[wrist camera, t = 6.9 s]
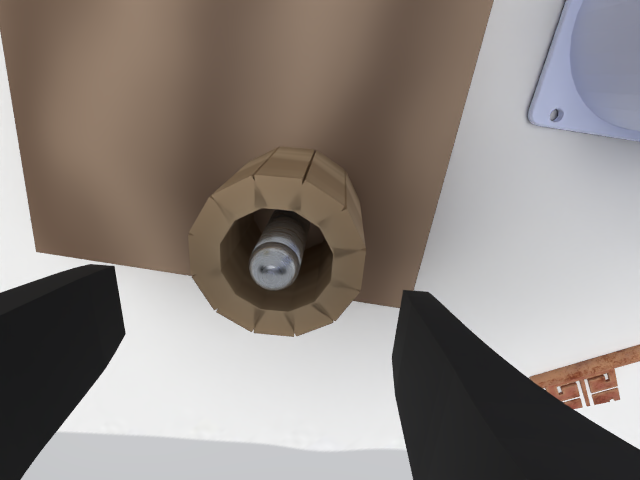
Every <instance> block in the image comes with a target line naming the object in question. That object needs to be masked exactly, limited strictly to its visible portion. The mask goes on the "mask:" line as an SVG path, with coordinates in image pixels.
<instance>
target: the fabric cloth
mask: <svg viewBox="0 0 640 480" xmlns="http://www.w3.org/2000/svg"><path fill="white" fill-rule="evenodd" d="M493 1H494V0H0V32H1V38H2V44H3V50H4V56H5V62H6V69H7V75H8V81H9V87H10V93H11V99H12V106H13V112H14V118H15V124H16V130H17V136H18V142H19V149H20V155H21V161H22V167H23V173H24V179H25V186H26V192H27V198H28V204H29V210H30V216H31V223H32V229H33V235H34V241H35V247H36V252H40V253H47V254H53V255H60V256H66V257H73V258H79V259H86V260H92V261H99V262H105V263H111V264H118V265H124V266H131V267H137V268H144V269H150V270H157V271H163V272H170V273H176V274H183V275H189V276H193V275H192V274H191V271H190V256H189V241H188V235H189V234H190V233H189V231H190V229H191V228H192V226H193V224H194V222H195V221H196V219H197V217H198V215H199V214H200V212H201V210H202V209H203V207H204V205H205V203H206V202H207V200H208V198H209V197H210V196H211V195H212V194H213V193H214V192H215V191H216V190H218V189H219V188H220V187H221V186H222V185H223V184H224V183H225V182H227V181H228V180H229V179H230V178H231V177H232V176H233V175H234V174H236V173H237V172H238V171H239V170H240V169H241V168H242V167H243V166H245V165H246V164H247V163H248V162H249V161H251V160H253V159H255V158H257V157H259V156H261V155H263V154H265V153H267V152H269V151H271V150H273V149H275V148H277V147H279V148H280V146H281V147H293V148H305V149H314V153H315V152H316V150H317V151H319V152H320V153H322V154H323V155H325V156H326V157H327V158H329V159H330V160H332V161H333V162H335V163H336V164H338V165H339V166H340V167H342V168H343V169H345V171H346V172H347V174H348V176H349V179H350V181H351V183H352V185H353V187H354V189H355V192H356V194H357V196H358V198H359V200H360V207H361V215H362V223H363V231H364V239H365V246H366V255H365V263H364V270H363V278H362V286H361V290H360V293H359V294H358V295H357V296H356V297H355V299H354V300H353V301H357V302H364V303H370V304H377V305H383V306H390V307H396V308H400V305H401V299H402V293H403V290H410V291H413V290H414V287H415V283H416V279H417V276H418V272H419V269H420V265H421V261H422V258H423V254H424V250H425V247H426V243H427V240H428V236H429V232H430V229H431V225H432V222H433V218H434V214H435V211H436V207H437V203H438V200H439V196H440V193H441V189H442V185H443V182H444V178H445V174H446V171H447V167H448V164H449V160H450V156H451V153H452V149H453V146H454V142H455V138H456V135H457V131H458V127H459V124H460V120H461V117H462V113H463V109H464V106H465V102H466V98H467V95H468V91H469V88H470V84H471V80H472V77H473V73H474V70H475V66H476V62H477V59H478V55H479V51H480V48H481V44H482V41H483V37H484V33H485V30H486V26H487V23H488V19H489V15H490V12H491V8H492V4H493ZM274 210H275V209H266V208H261V209H259V210H256V211H254V221H255V222H256V224H257V226H258V228H259V229H260V231H261V233H263V231H264V229H265V227H266V225H267V223H268V221H269V219H270V218H271V216H272V214H273V212H274ZM324 239H325V237H324V235H323V233H322V231H321V229H320V228H319V227H317V226H316V225H314V224H313V223H311V222H310V227H309V231H308V235H307V240H306V244H305V248H304V250H306V249H308V248H311V247H313V246H315V245H318V244H320V243H322V242H323V241H324Z"/></svg>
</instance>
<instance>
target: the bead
mask: <svg viewBox="0 0 640 480" xmlns="http://www.w3.org/2000/svg"><path fill="white" fill-rule="evenodd" d="M261 208H266V209H278V210H290V211H294V212H296V213H298V214H299V215H301V216H302V217H304V218H305V219H307V220H308V221H310V222H311V223H313V224H314V225H316V226H317V227H319V228H320V229H321V231H322V233H323V235H324V237H325V239H324V241H323V242H322V243H320V244H318V245H315V246H313V247H311V248H308V249H306V250H304V253H303V257H302V261H301V266H300V270H299V273H298V276H297V278H296V279H295V281H294V282H293V283H292V284H291V285H290V286H288V287H287V288H285V289H282V290H277V291H271V290H267V289H264V288H262V287H260V286H259V285H257V284H256V283H255V281H254V280H253V279H252V277H251V275H250V271H249V259H250V256H251V254H252V252H253V250H254V248H255V246H256V244H257V242H258V240H259V239H260V237H261V235H262V233H261V231H260V229H259V228H258V226H257V224H256V222H255V221H254V211H256V210H259V209H261ZM189 233H190V234H189V235H188V241H189V256H190V271H191V274H192V275H193V276H192V278H193V280H194V281H195V283H196V284H197V286H198V287H199V289H200V290H201V292H202V293H203V294H204V296H205V297H206V299H207V300H208V302H209V303H210V305H211V306H212V308H213V309H214V310H216V309H217V311H216V312H217V313H219V314H221V315H222V316H224V317H226V318H227V319H229V320H231V321H233V322H234V323H236V324H238V325H240V326H241V327H243V328H245V329H247V330H248V331H250V332H252V331H253V329H254V333H259V334H270V335H281V336H291V337H294V334H295V335H296V336H299V335H302V334H304V333H307V332H310V331H312V330H315V329H318V328H321V327H323V326H326V325H329V324H331V323H333V320H334V321H336V320H337V319H338V318H339V316H340V315H341V314H342V313H343V312H344V310H345V309H346V308H347V307H348V306H349V305H350V303H351V302H352V301H353V300H354V299H355V297H356V296H357V295H358V294H359V293H360V290H361V286H362V278H363V270H364V263H365V255H366V246H365V239H364V231H363V223H362V215H361V207H360V200H359V198H358V196H357V194H356V192H355V189H354V187H353V185H352V183H351V181H350V179H349V176H348V174H347V172H346V171H345V169H343V168H342V167H340V166H339V165H338V164H336V163H335V162H333V161H332V160H330V159H329V158H327V157H326V156H325V155H323V154H322V153H320V152H319V151H317V150H316V152H315V153H314V149H305V148H293V147H281V146H280V148H279V147H277V148H275V149H273V150H271V151H269V152H267V153H265V154H263V155H261V156H259V157H257V158H255V159H253V160H251V161H249V162H248V163H247V164H246V165H245V166H243V167H242V168H241V169H240V170H239V171H238V172H237V173H236V174H234V175H233V176H232V177H231V178H230V179H229V180H228V181H227V182H225V183H224V184H223V185H222V186H221V187H220V188H219V189H218V190H216V191H215V192H214V193H213V194H212V195H211V196H210V197H209V198H208V200H207V202H206V203H205V205H204V207H203V209H202V210H201V212H200V214H199V215H198V217H197V219H196V221H195V222H194V224H193V226H192V228H191V229H190V231H189Z"/></svg>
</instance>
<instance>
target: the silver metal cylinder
mask: <svg viewBox="0 0 640 480" xmlns="http://www.w3.org/2000/svg"><path fill="white" fill-rule="evenodd" d="M309 227H310V221H308V220H307V219H305V218H304V217H302V216H301V215H299V214H298V213H296V212H294V211H290V210H278V209H275V210H274V212H273V214H272V216H271V218H270V219H269V221H268V223H267V225H266V227H265V229H264V231H263V233H262V235H261V237H260V239H259V240H258V242H257V244H256V246H255V248H254V250H253V252H252V254H251V256H250V259H249V271H250V275H251V277H252V279H253V280H254V281H255V283H256V284H257V285H259V286H260V287H262V288H264V289H267V290H271V291H277V290H282V289H285V288H287V287H288V286H290V285H291V284H292V283H293V282H294V281H295V279H296V278H297V276H298V273H299V270H300V266H301V261H302V257H303V253H304V248H305V244H306V240H307V235H308V231H309Z"/></svg>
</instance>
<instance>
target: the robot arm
mask: <svg viewBox="0 0 640 480" xmlns="http://www.w3.org/2000/svg"><path fill="white" fill-rule="evenodd" d="M555 109H557V110H558V111H559V114H558V117H557V118H556V119H555V120H553V121H551V119H550V114H551V112H552V111H553V110H555ZM528 118H529V121H530V122H531V123H532V124H535V125H538V126H543V127H549V128H556V129H562V130H569V131H575V132H581V133H588V134H594V135H601V136H607V137H613V138H620V139H626V140H633V141H639V142H640V0H566V3H565V5H564V8H563V11H562V14H561V17H560V20H559V23H558V26H557V29H556V32H555V35H554V38H553V41H552V44H551V47H550V50H549V52H548V55H547V58H546V61H545V64H544V67H543V70H542V73H541V76H540V79H539V82H538V85H537V88H536V91H535V94H534V97H533V99H532V102H531V105H530V108H529V112H528ZM124 336H125V328H124V322H123V316H122V310H121V303H120V297H119V291H118V285H117V279H116V273H115V267H114V266H106V265H94V264H89V265H85V266H80V267H77V268H73V269H70V270H66V271H63V272H60V273H57V274H54V275H51V276H48V277H45V278H42V279H39V280H36V281H33V282H30V283H27V284H25V285H22V286H19V287H16V288H13V289H10V290H7V291H4V292H2V293H0V480H20V479H21V478H22V476H23V475H24V473H25V472H26V470H27V469H28V468H29V466H30V465H31V464H32V462H33V461H34V460H35V458H36V457H37V456H38V454H39V453H40V451H41V450H42V449H43V448H44V446H45V445H46V444H47V443H48V441H49V440H50V439H51V438H52V436H53V435H54V434H55V433H56V431H57V430H58V429H59V427H60V426H61V425H62V424H63V422H64V421H65V420H66V419H67V417H68V416H69V415H70V414H71V412H72V411H73V410H74V409H75V407H76V406H77V405H78V403H79V402H80V401H81V400H82V398H83V397H84V396H85V395H86V393H87V392H88V391H89V389H90V388H91V387H92V386H93V384H94V383H95V382H96V380H97V379H98V378H99V376H100V375H101V374H102V372H103V371H104V370H105V368H106V367H107V365H108V364H109V362H110V360H111V359H112V357H113V355H114V354H115V352H116V350H117V348H118V347H119V345H120V343H121V341H122V339H123V338H124ZM392 365H393V378H394V388H395V397H396V401H397V406H398V411H399V416H400V421H401V425H402V430H403V434H404V439H405V444H406V448H407V452H408V457H409V462H410V466H411V471H412V476H413V480H640V450H639V449H638V448H636V447H634V446H632V445H631V444H629V443H627V442H626V441H624V440H622V439H621V438H619V437H617V436H616V435H614V434H612V433H611V432H609V431H607V430H606V429H604V428H602V427H601V426H599V425H597V424H596V423H594V422H592V421H591V420H589V419H588V418H586V417H584V416H583V415H581V414H580V413H578V412H577V411H575V410H573V409H572V408H570V407H569V406H567V405H566V404H564V403H563V402H562V401H560V400H559V399H557V398H556V397H554V396H553V395H551V394H550V393H549V392H547V391H546V390H544V389H543V388H541V387H540V386H538V385H537V384H536V383H534V382H533V381H532V380H530V379H529V378H527V377H526V376H525V375H523V374H522V373H521V372H519V371H518V370H517V369H516V368H514V367H513V366H512V365H511V364H509V363H508V362H507V361H506V360H504V359H503V358H502V357H501V356H499V355H498V354H497V353H496V352H495V351H493V350H492V349H491V348H490V347H489V346H488V345H486V344H485V343H484V342H483V341H482V340H481V339H479V338H478V337H477V336H476V335H475V334H474V333H473V332H472V331H470V330H469V329H468V328H467V327H466V326H465V325H464V324H463V323H462V322H461V321H460V320H458V319H457V318H456V317H455V316H454V315H453V314H452V313H451V312H450V311H449V310H448V309H447V308H446V307H445V306H444V305H442V304H441V303H440V302H439V301H438V300H437V299H436V298H435V297H434V296H433V295H431V294H430V293H429V292H423V291H410V290H403V293H402V299H401V305H400V311H399V317H398V323H397V329H396V335H395V341H394V347H393V353H392Z"/></svg>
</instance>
